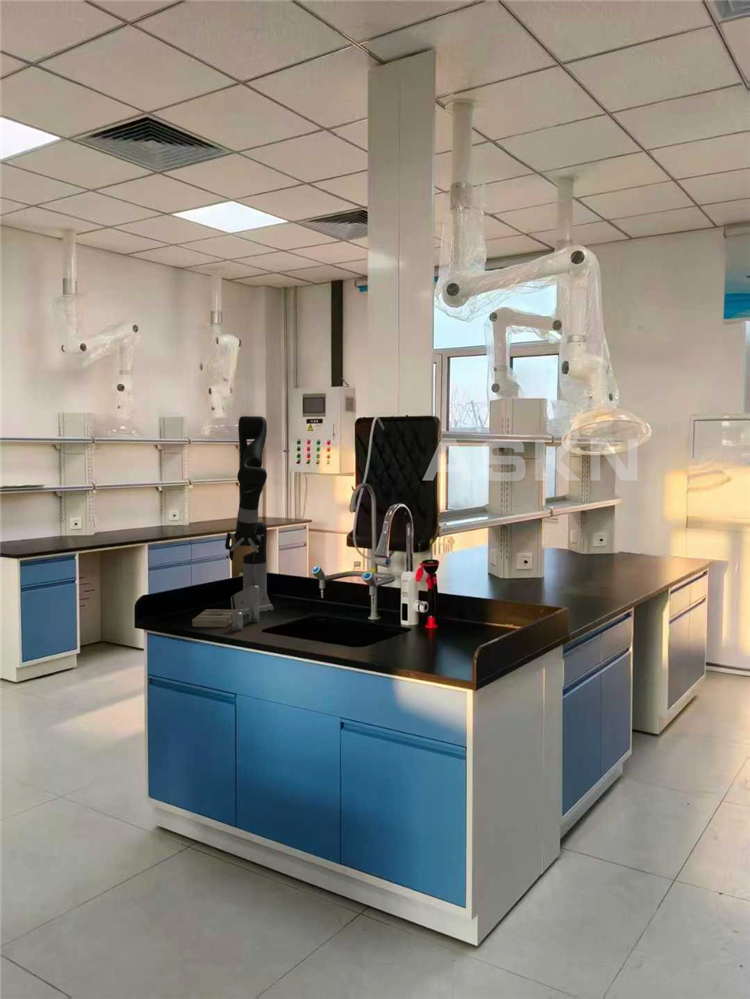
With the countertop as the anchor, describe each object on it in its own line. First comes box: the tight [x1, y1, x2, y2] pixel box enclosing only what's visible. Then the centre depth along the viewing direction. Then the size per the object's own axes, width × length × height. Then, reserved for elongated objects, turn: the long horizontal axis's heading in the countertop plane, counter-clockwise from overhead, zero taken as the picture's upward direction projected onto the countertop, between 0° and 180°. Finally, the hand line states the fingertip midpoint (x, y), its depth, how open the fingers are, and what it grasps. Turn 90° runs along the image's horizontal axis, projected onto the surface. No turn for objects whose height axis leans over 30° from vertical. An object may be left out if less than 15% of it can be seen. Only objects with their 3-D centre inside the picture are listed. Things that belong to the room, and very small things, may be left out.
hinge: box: [230, 589, 274, 616], centre depth 301 cm, size 17×5×10 cm, turn 137°
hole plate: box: [191, 608, 238, 628], centre depth 284 cm, size 18×12×2 cm, turn 177°
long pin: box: [248, 585, 260, 623], centre depth 283 cm, size 4×4×13 cm
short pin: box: [231, 612, 244, 632], centre depth 270 cm, size 4×4×6 cm
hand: (243, 560), depth 296 cm, fingers open, 8 cm apart
